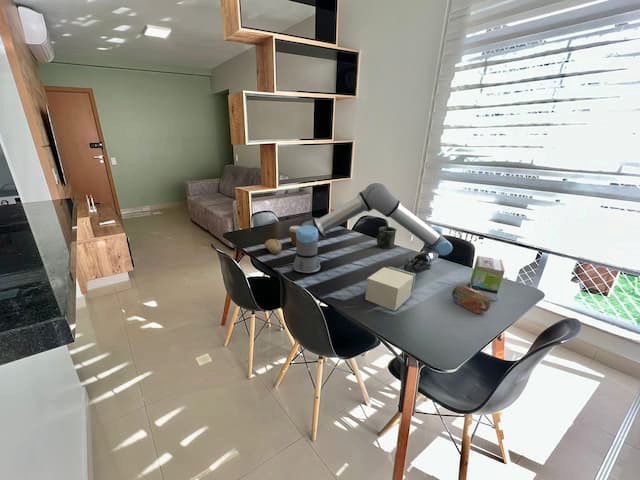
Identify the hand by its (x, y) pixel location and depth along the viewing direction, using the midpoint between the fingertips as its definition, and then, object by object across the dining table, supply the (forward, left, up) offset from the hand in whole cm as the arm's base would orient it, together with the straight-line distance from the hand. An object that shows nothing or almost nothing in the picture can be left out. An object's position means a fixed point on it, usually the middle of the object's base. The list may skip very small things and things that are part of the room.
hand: (405, 273), depth 139 cm
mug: (+20, +51, -7) cm, 55 cm away
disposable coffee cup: (-35, +71, -7) cm, 79 cm away
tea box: (+32, -14, -7) cm, 35 cm away
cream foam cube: (-14, -9, -6) cm, 18 cm away
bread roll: (-53, +62, -7) cm, 82 cm away
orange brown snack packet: (+15, -24, -7) cm, 29 cm away
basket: (-8, -5, -5) cm, 11 cm away
